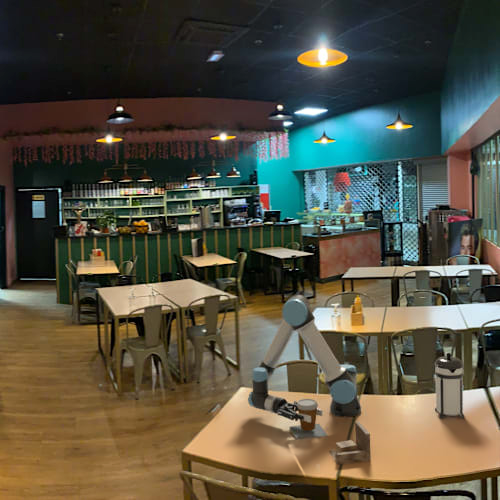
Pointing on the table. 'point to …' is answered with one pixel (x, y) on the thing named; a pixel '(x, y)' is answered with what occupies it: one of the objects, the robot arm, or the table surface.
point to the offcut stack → (346, 446)
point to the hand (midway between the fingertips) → (316, 416)
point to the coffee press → (449, 386)
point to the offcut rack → (362, 447)
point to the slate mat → (308, 432)
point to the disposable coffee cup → (308, 413)
